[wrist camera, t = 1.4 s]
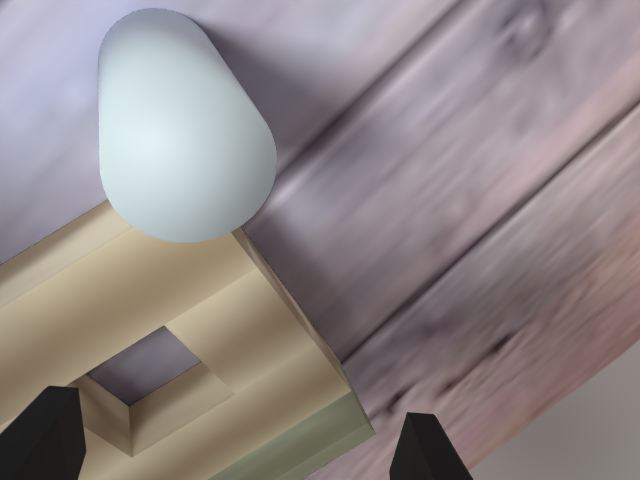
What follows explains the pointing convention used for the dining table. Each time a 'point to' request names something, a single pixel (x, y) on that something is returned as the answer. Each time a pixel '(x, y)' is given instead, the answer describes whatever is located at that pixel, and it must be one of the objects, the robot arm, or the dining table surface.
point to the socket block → (196, 334)
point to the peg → (178, 131)
